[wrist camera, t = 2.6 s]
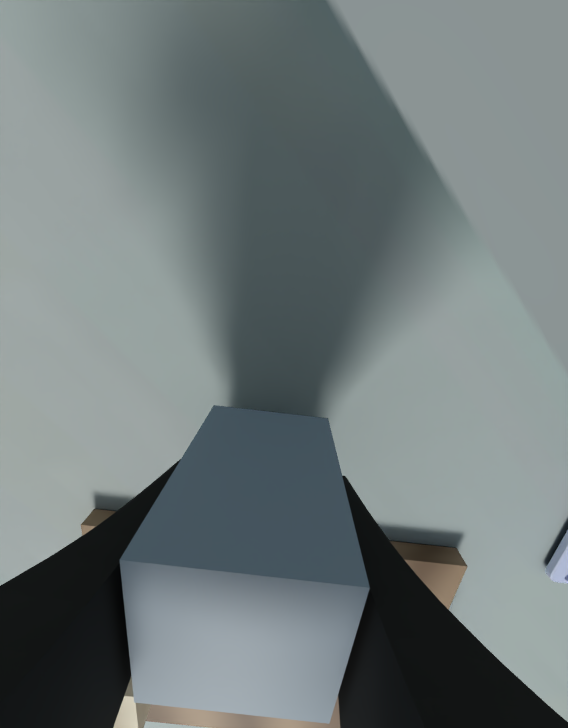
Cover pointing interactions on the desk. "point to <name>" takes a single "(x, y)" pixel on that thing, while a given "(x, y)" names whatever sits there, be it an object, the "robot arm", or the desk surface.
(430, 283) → the desk surface
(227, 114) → the desk surface
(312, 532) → the slate block
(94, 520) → the wooden board
